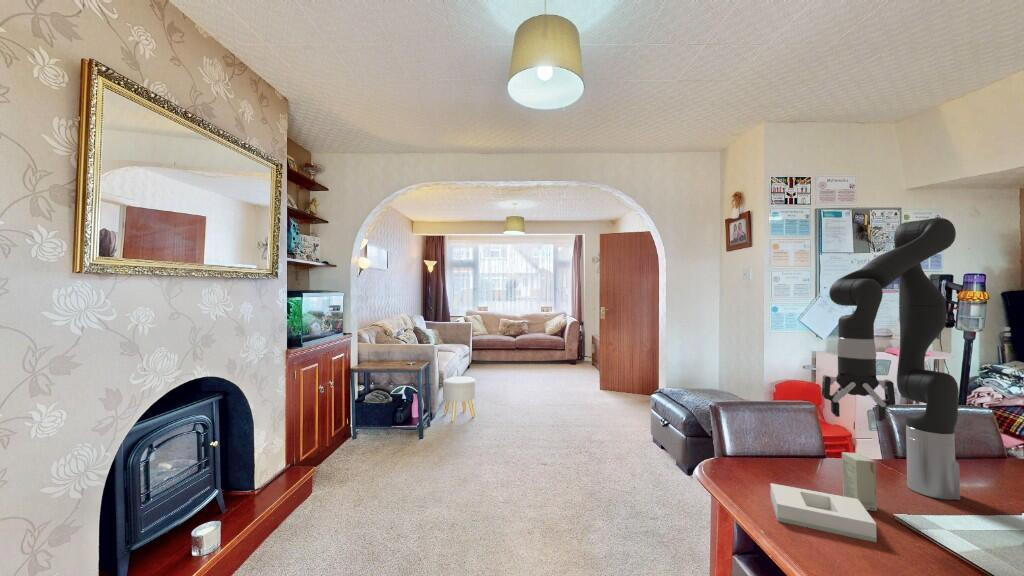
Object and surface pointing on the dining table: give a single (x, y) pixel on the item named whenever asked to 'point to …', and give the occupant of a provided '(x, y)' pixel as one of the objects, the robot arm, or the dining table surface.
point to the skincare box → (859, 479)
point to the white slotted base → (822, 512)
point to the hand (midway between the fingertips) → (857, 418)
